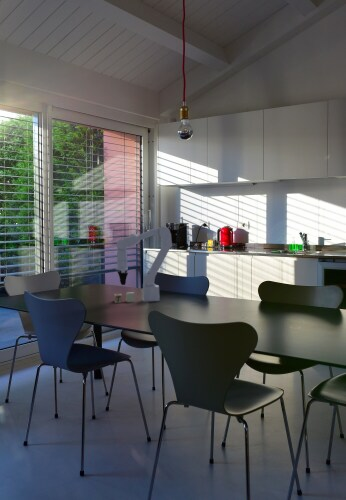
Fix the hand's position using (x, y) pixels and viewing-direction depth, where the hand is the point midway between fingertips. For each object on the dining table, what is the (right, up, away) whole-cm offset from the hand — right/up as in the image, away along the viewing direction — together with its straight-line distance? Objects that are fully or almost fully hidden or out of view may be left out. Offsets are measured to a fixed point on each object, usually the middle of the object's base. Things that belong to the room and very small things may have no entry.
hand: (122, 283), depth 299 cm
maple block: (-2, -8, -5) cm, 10 cm away
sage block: (+4, -10, -1) cm, 11 cm away
